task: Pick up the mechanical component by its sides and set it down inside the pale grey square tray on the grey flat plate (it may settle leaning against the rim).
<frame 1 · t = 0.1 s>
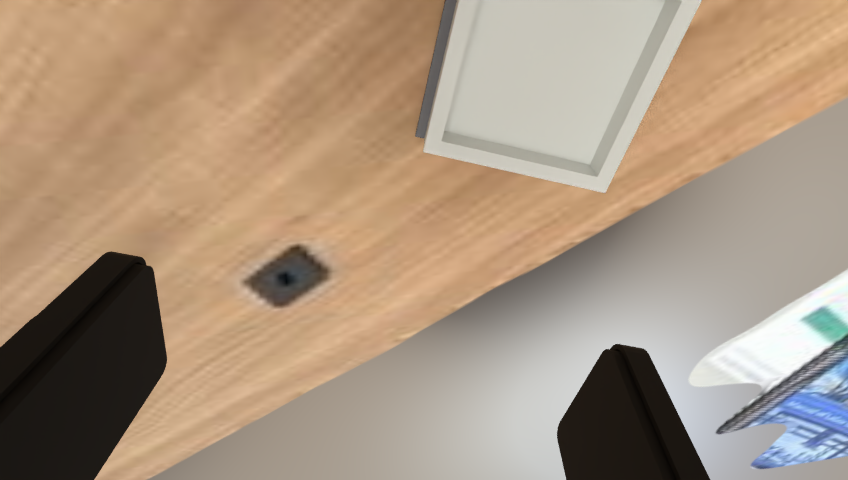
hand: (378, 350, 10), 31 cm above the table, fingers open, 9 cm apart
tray: (542, 67, 36), resting on grey flat plate
grey flat plate: (542, 66, 36), on the table
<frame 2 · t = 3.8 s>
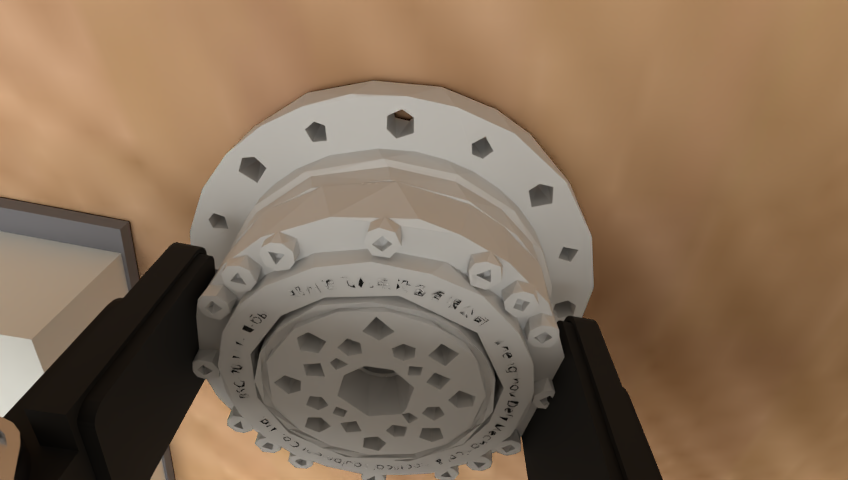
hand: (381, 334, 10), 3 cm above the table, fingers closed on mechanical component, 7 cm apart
mechanical component: (397, 256, 13), on the table, touching gripper
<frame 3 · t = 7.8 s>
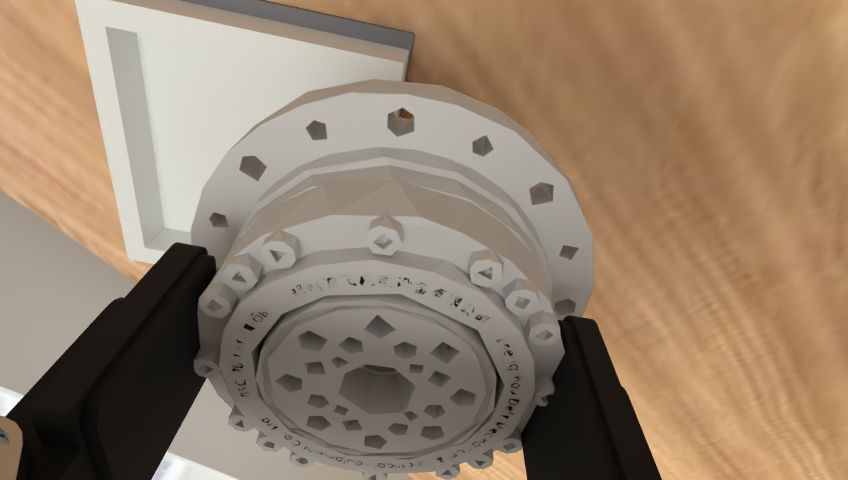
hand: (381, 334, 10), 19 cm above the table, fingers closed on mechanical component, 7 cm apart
tray: (265, 153, 28), resting on grey flat plate
grey flat plate: (267, 150, 29), on the table
mechanical component: (397, 255, 13), point 16 cm above the table, touching gripper
when the fingers open (5 cm above the table, at t = 12.1 s): mechanical component drops 1 cm, resting on tray.
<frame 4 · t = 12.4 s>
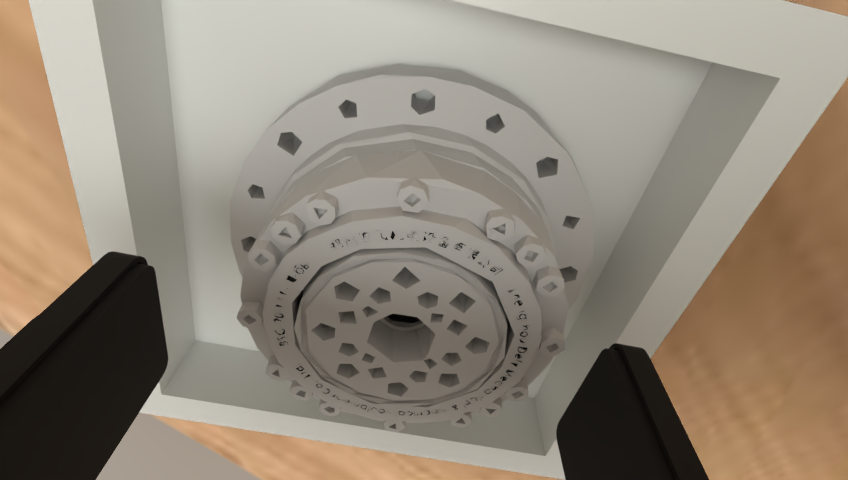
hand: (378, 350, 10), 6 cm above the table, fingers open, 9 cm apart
tray: (401, 214, 14), resting on grey flat plate
mechanical component: (413, 229, 14), point 1 cm above the table, touching tray
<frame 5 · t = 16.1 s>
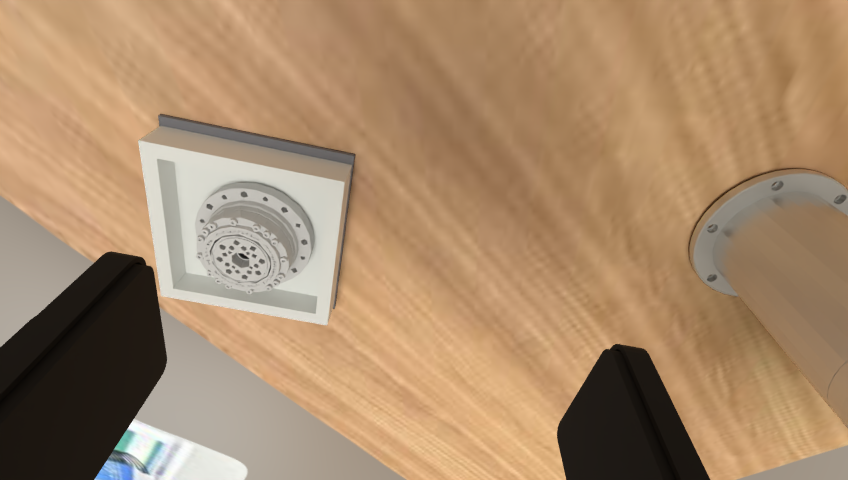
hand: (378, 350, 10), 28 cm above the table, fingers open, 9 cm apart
tray: (257, 224, 41), resting on grey flat plate
grey flat plate: (259, 222, 42), on the table
mechanical component: (260, 230, 41), point 1 cm above the table, touching tray
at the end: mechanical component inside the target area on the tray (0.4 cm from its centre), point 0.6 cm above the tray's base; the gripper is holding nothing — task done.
